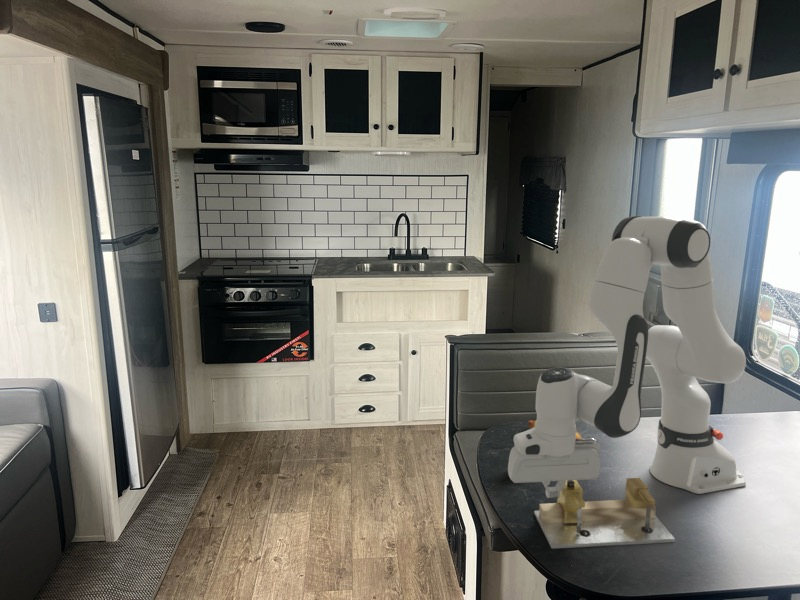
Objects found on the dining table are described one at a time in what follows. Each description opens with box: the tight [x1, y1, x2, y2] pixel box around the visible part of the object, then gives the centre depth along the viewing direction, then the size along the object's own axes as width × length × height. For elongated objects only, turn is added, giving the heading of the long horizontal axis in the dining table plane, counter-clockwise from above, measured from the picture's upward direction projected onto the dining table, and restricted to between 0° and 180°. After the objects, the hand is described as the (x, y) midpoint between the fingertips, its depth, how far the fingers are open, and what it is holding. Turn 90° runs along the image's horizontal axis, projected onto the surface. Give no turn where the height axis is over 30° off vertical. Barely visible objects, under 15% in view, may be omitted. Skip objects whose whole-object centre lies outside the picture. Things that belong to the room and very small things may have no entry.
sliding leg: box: [556, 480, 586, 533], centre depth 132 cm, size 4×10×9 cm, turn 3°
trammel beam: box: [538, 477, 657, 530], centre depth 132 cm, size 26×9×8 cm, turn 93°
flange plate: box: [533, 510, 676, 550], centre depth 132 cm, size 27×13×1 cm, turn 93°
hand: (552, 496), depth 134 cm, fingers closed
